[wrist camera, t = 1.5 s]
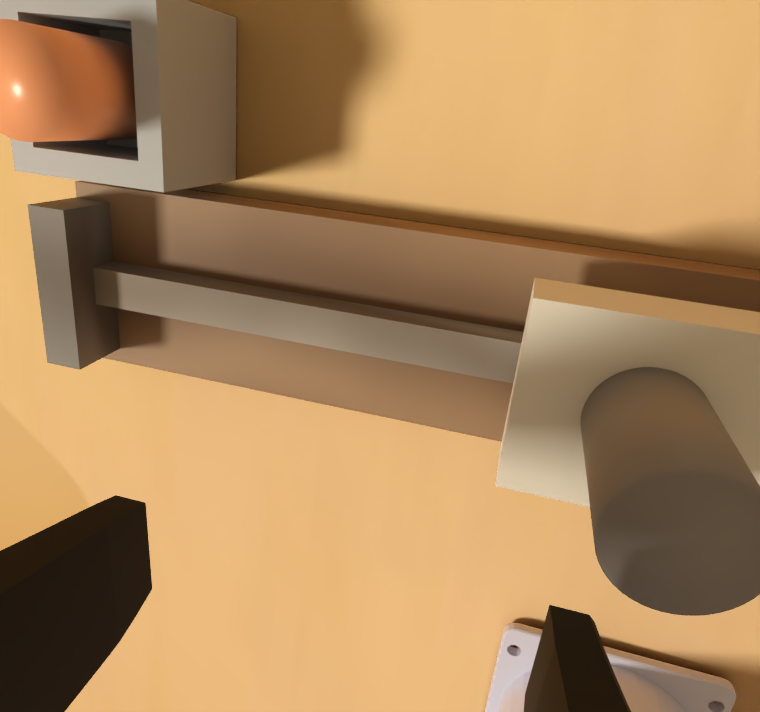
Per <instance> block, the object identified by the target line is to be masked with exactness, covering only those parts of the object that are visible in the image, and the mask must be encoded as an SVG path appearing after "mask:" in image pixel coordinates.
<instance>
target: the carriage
mask: <svg viewBox="0 0 760 712" xmlns="http://www.w3.org/2000/svg"><path fill="white" fill-rule="evenodd" d="M495 486H497V487H502V488H506V489H511V490H515V491H519V492H524V493H528V494H533V495H537V496H542V497H546V498H551V499H555V500H559V501H564V502H568V503H573V504H577V505H582V506H586V507H590V510H591V519H592V527H593V536H594V544H595V552H596V556H597V559H598V562H599V564H600V566H601V568H602V570H603V572H604V573H605V575H606V576H607V578H608V579H609V580H610V581H611V582H612V584H613V585H614V586H615V587H616V588H618V589H619V590H620V591H621V592H622V593H623V594H625V595H626V596H628V597H629V598H631V599H632V600H634V601H636V602H638V603H640V604H642V605H644V606H647V607H649V608H652V609H655V610H658V611H661V612H666V613H671V614H678V615H709V614H715V613H720V612H724V611H727V610H731V609H734V608H736V607H738V606H741V605H743V604H745V603H747V602H749V601H750V600H752V599H754V598H755V597H757V596H758V595H759V594H760V312H755V311H748V310H742V309H735V308H729V307H722V306H716V305H709V304H703V303H697V302H690V301H684V300H677V299H671V298H664V297H658V296H651V295H645V294H638V293H632V292H625V291H619V290H612V289H606V288H599V287H593V286H586V285H580V284H573V283H567V282H560V281H554V280H548V279H541V278H534V283H533V288H532V293H531V298H530V303H529V308H528V313H527V318H526V323H525V328H524V333H523V338H522V343H521V348H520V353H519V358H518V363H517V368H516V373H515V378H514V383H513V388H512V393H511V398H510V403H509V408H508V413H507V418H506V423H505V427H504V432H503V437H502V442H501V447H500V454H499V461H498V468H497V476H496V483H495Z"/></svg>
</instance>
